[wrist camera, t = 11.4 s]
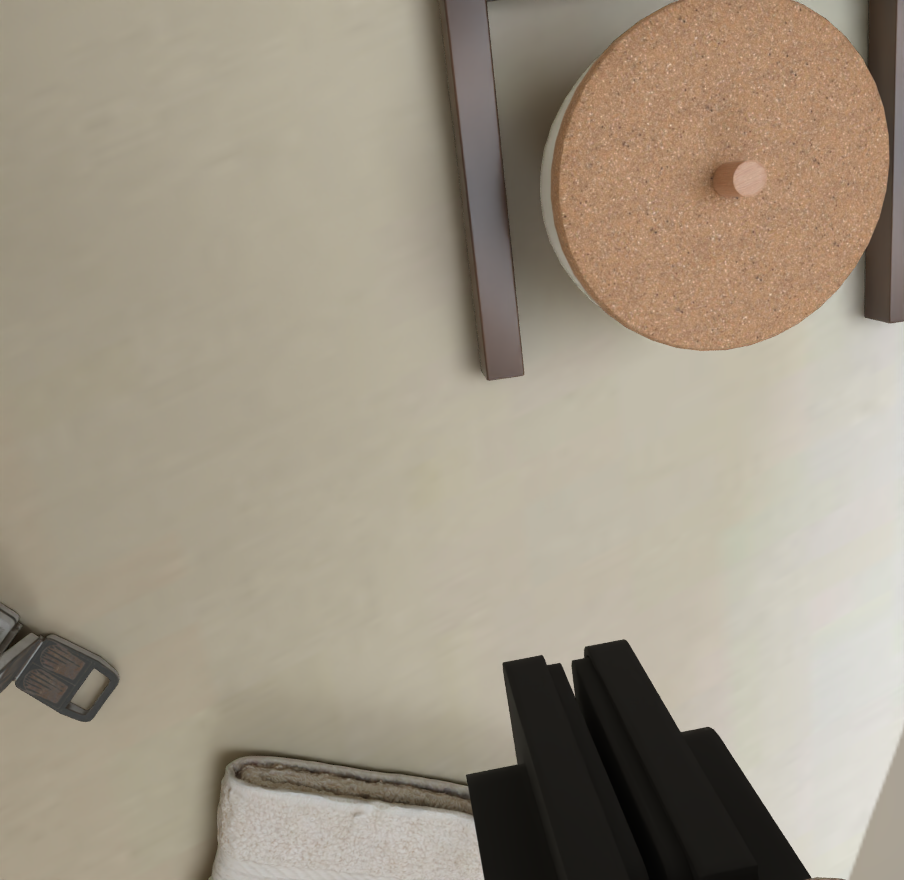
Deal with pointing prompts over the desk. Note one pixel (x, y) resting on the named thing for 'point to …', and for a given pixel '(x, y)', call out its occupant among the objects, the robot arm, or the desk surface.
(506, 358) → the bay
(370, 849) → the washcloth
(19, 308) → the desk surface
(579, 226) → the trinket box
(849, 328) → the desk surface
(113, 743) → the desk surface
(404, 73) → the desk surface
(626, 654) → the robot arm
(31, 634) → the strap clip
